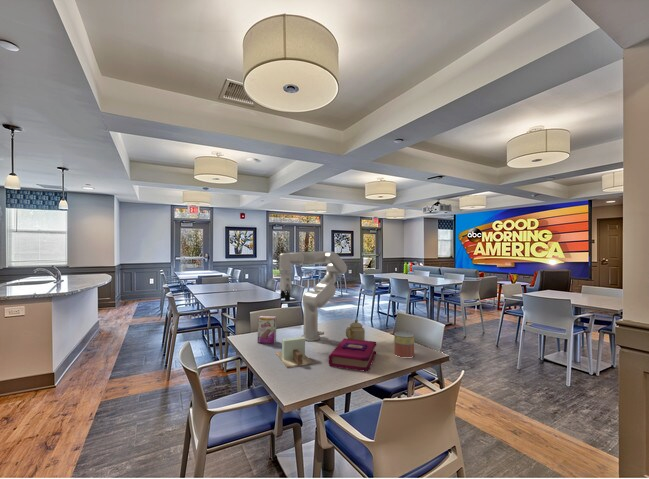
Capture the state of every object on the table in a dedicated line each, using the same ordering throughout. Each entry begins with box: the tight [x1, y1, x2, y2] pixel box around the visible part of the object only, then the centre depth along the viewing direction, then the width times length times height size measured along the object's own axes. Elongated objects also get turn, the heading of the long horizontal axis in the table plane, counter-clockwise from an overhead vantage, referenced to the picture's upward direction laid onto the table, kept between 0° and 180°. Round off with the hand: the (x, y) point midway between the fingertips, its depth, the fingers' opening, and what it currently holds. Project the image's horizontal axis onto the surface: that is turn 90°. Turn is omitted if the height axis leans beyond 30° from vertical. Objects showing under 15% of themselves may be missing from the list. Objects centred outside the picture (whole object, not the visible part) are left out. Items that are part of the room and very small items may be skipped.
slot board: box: [275, 349, 314, 369], centre depth 167 cm, size 14×22×6 cm, turn 24°
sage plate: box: [281, 336, 306, 360], centre depth 167 cm, size 12×4×10 cm, turn 114°
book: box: [328, 338, 377, 372], centre depth 167 cm, size 21×28×8 cm
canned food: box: [393, 330, 415, 358], centre depth 174 cm, size 11×11×12 cm
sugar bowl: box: [345, 318, 366, 341], centre depth 196 cm, size 15×11×15 cm
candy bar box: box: [257, 315, 277, 344], centre depth 194 cm, size 11×5×16 cm, turn 84°
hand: (285, 299), depth 190 cm, fingers open, 9 cm apart
